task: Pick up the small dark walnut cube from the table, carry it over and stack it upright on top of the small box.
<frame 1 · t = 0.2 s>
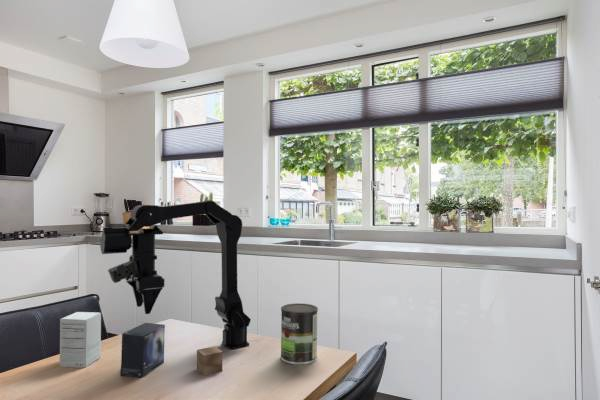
hand: (143, 310, 109), 14 cm above the table, tool pointing down, fingers open, 9 cm apart
walnut cube: (209, 370, 105), on the table
supplement box: (80, 363, 110), on the table
small box: (143, 369, 105), on the table
coffee can: (299, 358, 114), on the table
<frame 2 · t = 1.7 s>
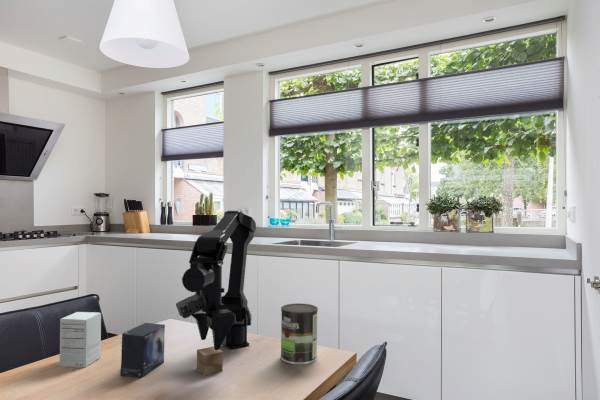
hand: (209, 344, 105), 6 cm above the table, tool pointing down, fingers open, 9 cm apart
nothing on the table moved.
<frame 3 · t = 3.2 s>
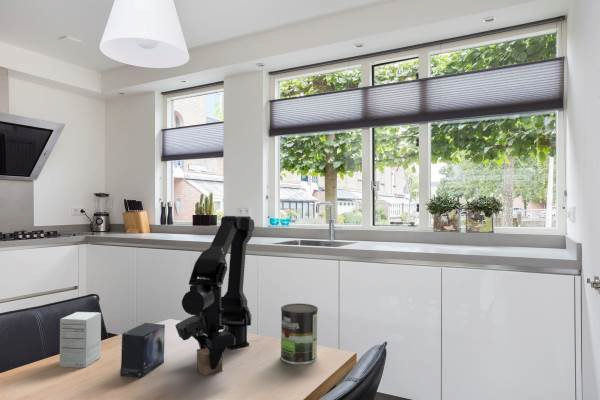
hand: (209, 365, 105), 1 cm above the table, tool pointing down, fingers closed on walnut cube, 5 cm apart
walnut cube: (209, 369, 105), on the table, touching gripper
everything else where it was.
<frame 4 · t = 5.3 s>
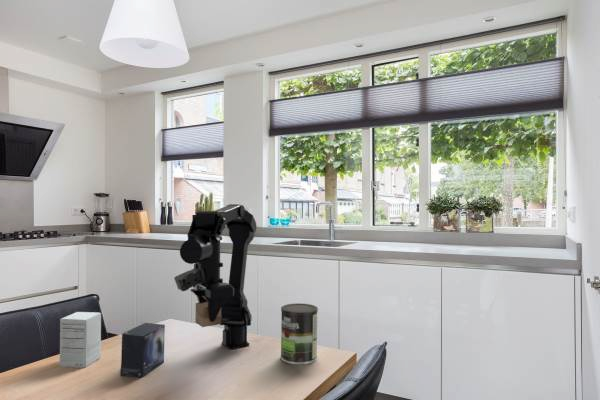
hand: (208, 319, 105), 13 cm above the table, tool pointing down, fingers closed on walnut cube, 5 cm apart
walnut cube: (208, 323, 105), point 12 cm above the table, touching gripper
everything else where it was.
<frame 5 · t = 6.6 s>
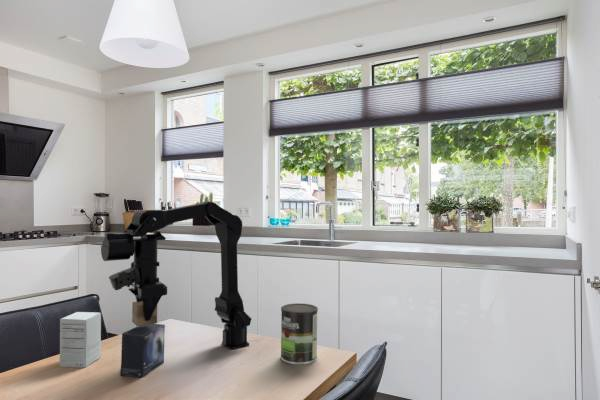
hand: (144, 318, 106), 13 cm above the table, tool pointing down, fingers closed on walnut cube, 5 cm apart
walnut cube: (144, 322, 106), point 12 cm above the table, touching gripper
everything else where it was.
when the fingers open (12 cm above the table, at t = 7.7 s): walnut cube stays where it is, resting on small box.
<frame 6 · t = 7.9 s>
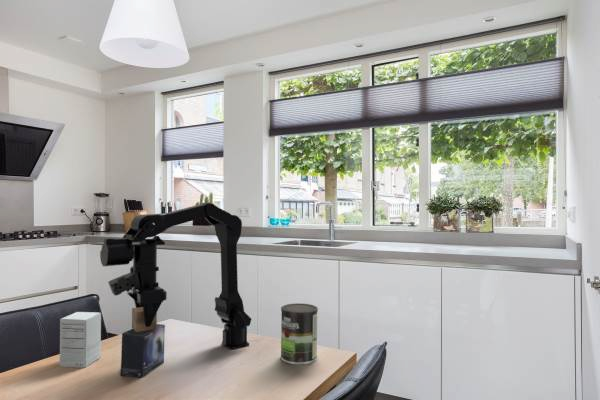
hand: (144, 323, 106), 12 cm above the table, tool pointing down, fingers open, 7 cm apart
walnut cube: (144, 328, 106), point 10 cm above the table, touching small box
small box: (143, 369, 105), on the table, touching walnut cube
everything else where it was.
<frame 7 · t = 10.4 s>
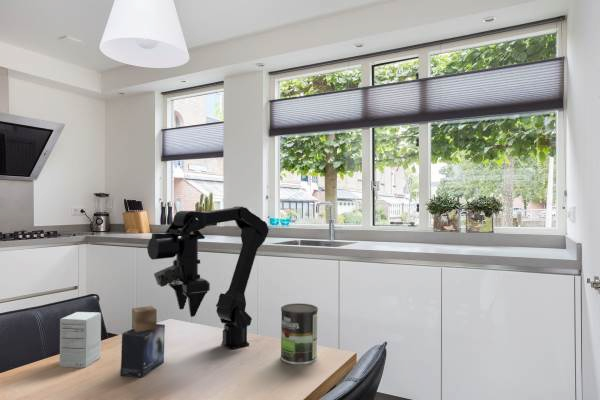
hand: (186, 312, 112), 13 cm above the table, tool pointing down, fingers open, 9 cm apart
nothing on the table moved.
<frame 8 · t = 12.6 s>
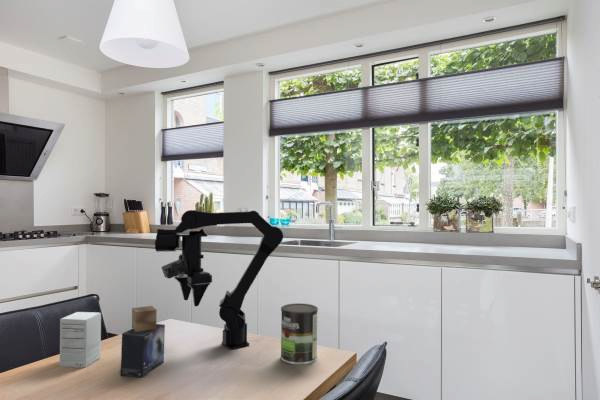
hand: (190, 303, 123), 13 cm above the table, tool pointing down, fingers open, 9 cm apart
nothing on the table moved.
at the end: walnut cube inside the target area on the small box (0.1 cm from its centre), point 10.7 cm above the small box's base; walnut cube tilted 0°; the gripper is holding nothing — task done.
